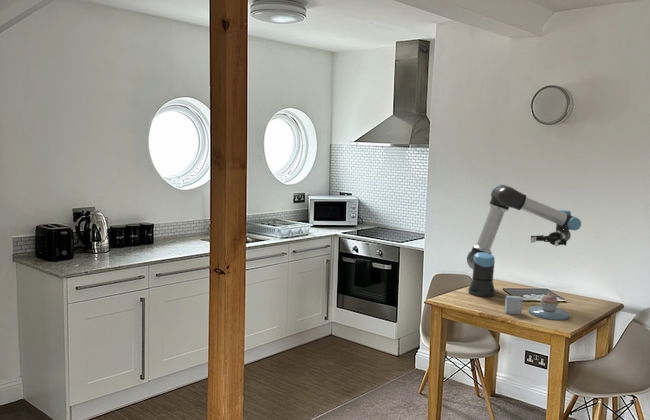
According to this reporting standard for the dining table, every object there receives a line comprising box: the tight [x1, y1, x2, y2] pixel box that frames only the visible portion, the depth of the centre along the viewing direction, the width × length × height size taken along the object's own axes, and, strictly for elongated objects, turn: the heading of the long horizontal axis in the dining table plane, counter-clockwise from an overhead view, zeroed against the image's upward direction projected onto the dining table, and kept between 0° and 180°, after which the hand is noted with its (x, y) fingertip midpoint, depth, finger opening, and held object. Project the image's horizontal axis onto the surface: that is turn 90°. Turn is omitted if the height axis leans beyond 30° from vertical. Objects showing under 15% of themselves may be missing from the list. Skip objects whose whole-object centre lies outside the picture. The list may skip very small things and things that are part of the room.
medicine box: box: [504, 295, 523, 315], centre depth 316 cm, size 8×4×9 cm, turn 84°
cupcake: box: [540, 292, 560, 312], centre depth 316 cm, size 9×9×10 cm
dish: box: [528, 305, 570, 321], centre depth 317 cm, size 20×20×2 cm
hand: (543, 242), depth 338 cm, fingers open, 13 cm apart
